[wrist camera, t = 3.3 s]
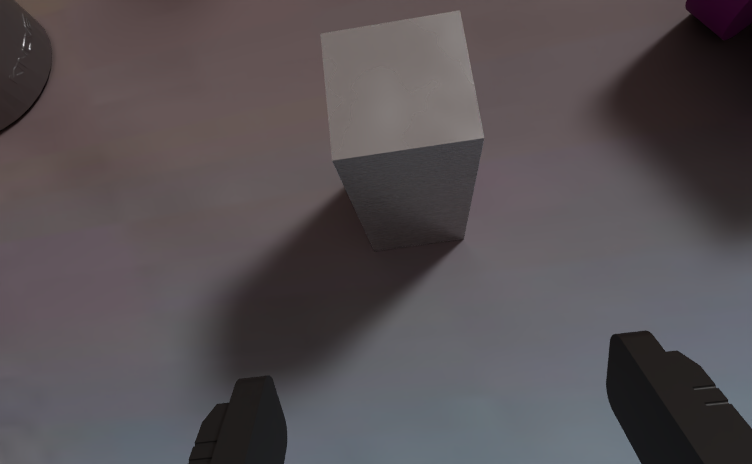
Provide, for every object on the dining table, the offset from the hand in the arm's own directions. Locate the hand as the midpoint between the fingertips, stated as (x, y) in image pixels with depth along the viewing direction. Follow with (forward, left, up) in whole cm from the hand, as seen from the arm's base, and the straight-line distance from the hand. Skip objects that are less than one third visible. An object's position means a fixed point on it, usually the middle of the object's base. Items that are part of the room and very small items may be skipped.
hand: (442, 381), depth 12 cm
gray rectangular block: (-1, +9, -12) cm, 15 cm away
